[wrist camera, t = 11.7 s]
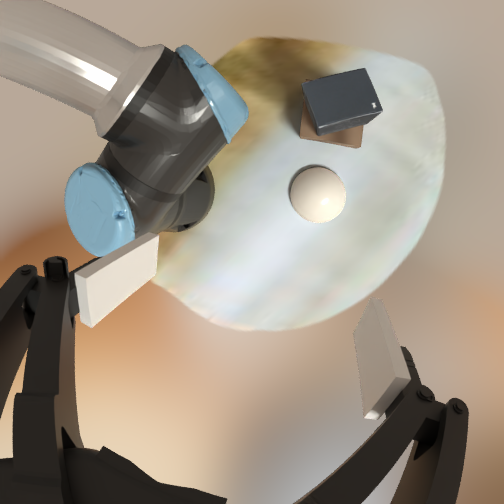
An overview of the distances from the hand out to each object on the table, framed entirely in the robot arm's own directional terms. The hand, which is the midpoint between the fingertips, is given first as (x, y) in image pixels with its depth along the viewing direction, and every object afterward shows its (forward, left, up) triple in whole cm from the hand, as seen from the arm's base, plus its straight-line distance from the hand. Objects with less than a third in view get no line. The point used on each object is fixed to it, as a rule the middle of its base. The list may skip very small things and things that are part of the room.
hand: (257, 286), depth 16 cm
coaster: (+3, +3, -31) cm, 31 cm away
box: (+1, +16, -27) cm, 31 cm away
